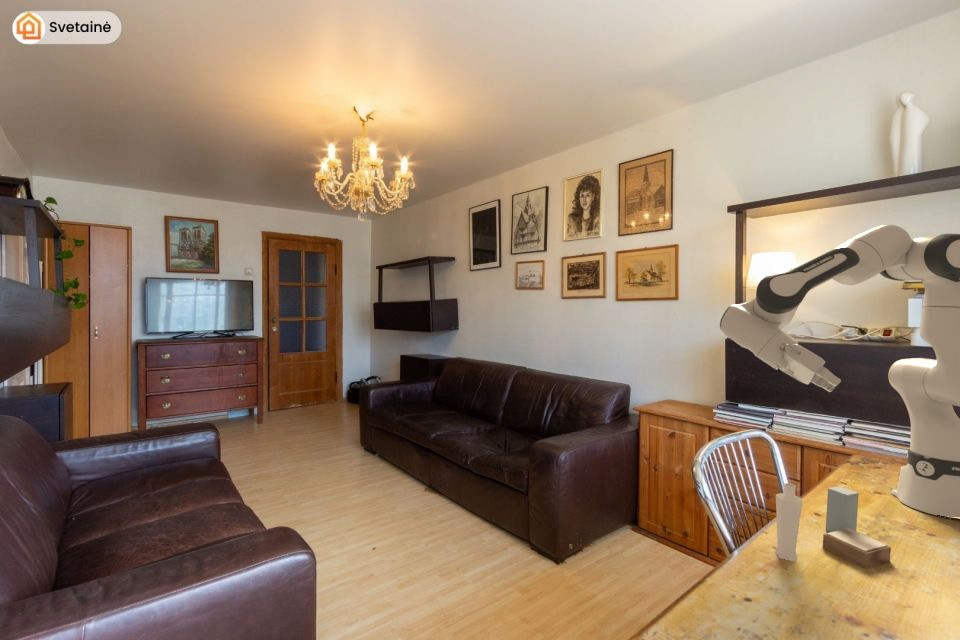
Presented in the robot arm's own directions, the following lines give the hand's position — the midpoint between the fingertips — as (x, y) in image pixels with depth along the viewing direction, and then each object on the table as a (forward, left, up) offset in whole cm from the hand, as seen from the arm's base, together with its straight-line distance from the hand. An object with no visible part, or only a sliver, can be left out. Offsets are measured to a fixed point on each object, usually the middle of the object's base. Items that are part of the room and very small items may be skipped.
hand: (835, 386), depth 107 cm
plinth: (+9, +11, -33) cm, 36 cm away
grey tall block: (+2, +4, -33) cm, 33 cm away
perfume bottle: (+24, +7, -33) cm, 42 cm away
